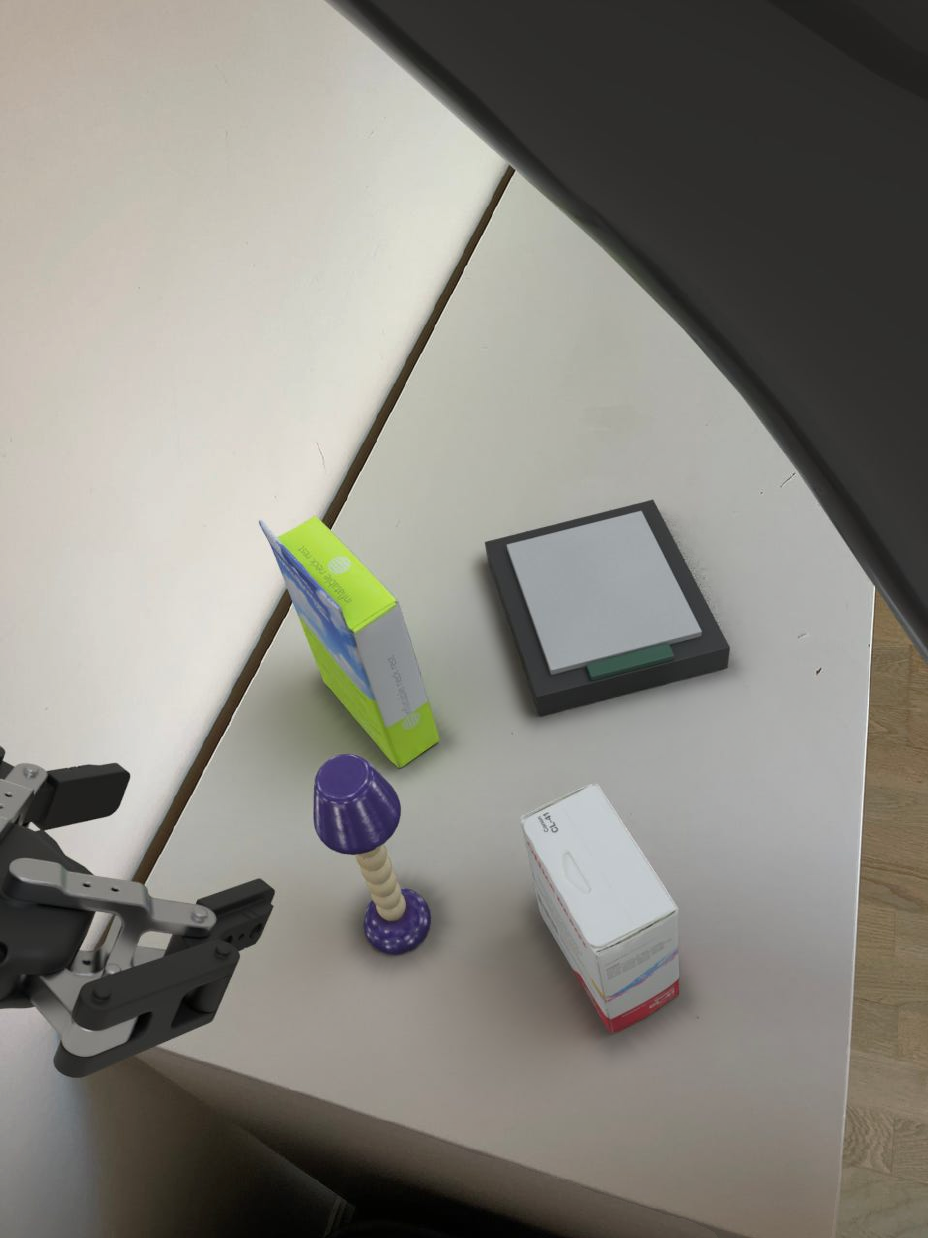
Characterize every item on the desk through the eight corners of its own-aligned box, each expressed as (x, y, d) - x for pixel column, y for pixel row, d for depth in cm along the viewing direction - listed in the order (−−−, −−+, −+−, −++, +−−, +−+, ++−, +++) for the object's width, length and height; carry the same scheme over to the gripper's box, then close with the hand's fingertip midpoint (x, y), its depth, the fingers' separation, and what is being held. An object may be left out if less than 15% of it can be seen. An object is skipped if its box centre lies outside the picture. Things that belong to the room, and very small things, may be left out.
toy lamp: (369, 883, 64) (303, 739, 51) (441, 882, 63) (391, 736, 51) (360, 956, 61) (287, 822, 48) (435, 956, 60) (381, 821, 48)
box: (443, 741, 70) (398, 576, 57) (395, 774, 69) (338, 613, 56) (364, 654, 76) (307, 487, 63) (319, 683, 75) (251, 519, 62)
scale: (728, 668, 71) (730, 642, 69) (538, 717, 70) (535, 692, 68) (653, 520, 81) (653, 493, 79) (487, 562, 81) (483, 536, 79)
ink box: (682, 999, 57) (690, 912, 48) (604, 1041, 56) (597, 960, 47) (605, 874, 62) (599, 774, 53) (533, 910, 61) (515, 816, 52)
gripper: (-66, 1021, 22) (354, 863, 36) (-353, 704, 28) (105, 676, 42) (-158, 1279, 23) (279, 1029, 38) (-411, 926, 29) (49, 827, 44)
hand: (187, 843), depth 40 cm, fingers open, 8 cm apart
